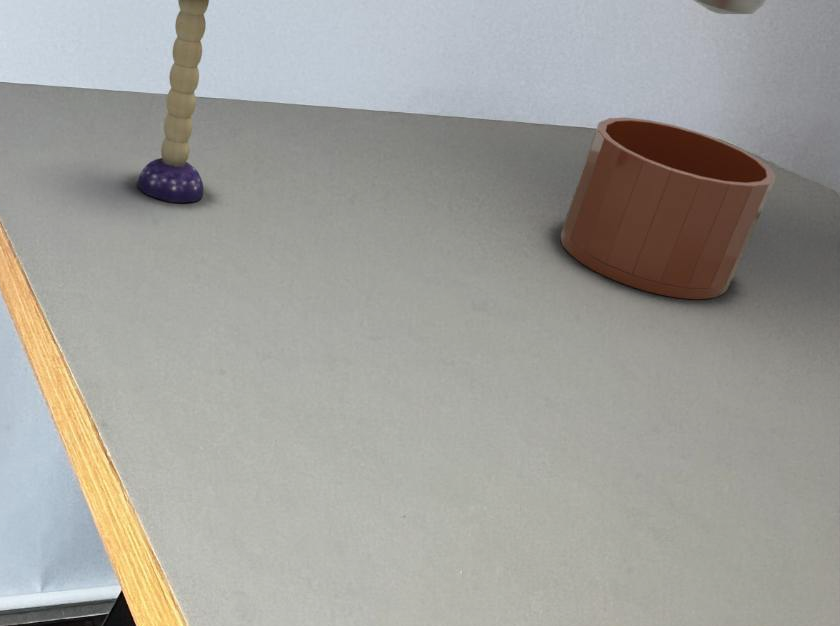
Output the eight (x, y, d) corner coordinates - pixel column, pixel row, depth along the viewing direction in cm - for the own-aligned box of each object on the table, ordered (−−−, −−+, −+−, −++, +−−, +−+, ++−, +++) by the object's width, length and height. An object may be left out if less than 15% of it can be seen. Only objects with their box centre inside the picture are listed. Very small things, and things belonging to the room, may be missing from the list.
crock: (696, 241, 94) (738, 137, 89) (752, 311, 84) (803, 198, 80) (543, 213, 92) (579, 105, 88) (583, 281, 82) (625, 164, 78)
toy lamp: (177, 210, 78) (221, -78, 68) (114, 186, 79) (149, -101, 69) (214, 193, 81) (260, -83, 72) (153, 170, 83) (191, -104, 73)
